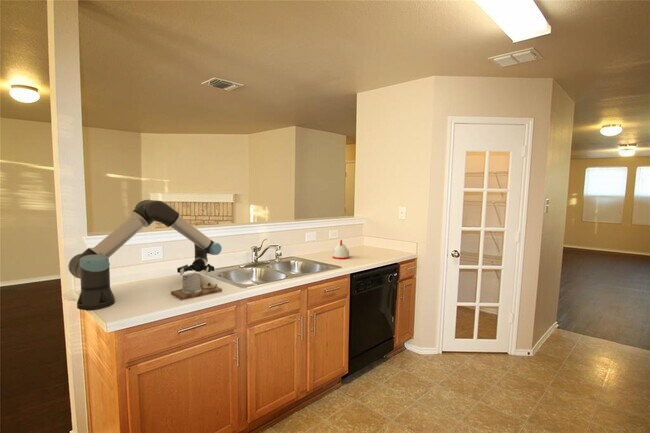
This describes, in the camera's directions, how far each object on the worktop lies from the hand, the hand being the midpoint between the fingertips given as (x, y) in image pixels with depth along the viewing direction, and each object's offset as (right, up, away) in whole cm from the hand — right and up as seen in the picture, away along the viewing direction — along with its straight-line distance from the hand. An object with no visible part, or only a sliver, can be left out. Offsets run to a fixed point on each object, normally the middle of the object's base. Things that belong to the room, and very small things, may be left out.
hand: (193, 272), depth 194 cm
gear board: (+4, -10, -5) cm, 12 cm away
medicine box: (+2, -8, -8) cm, 11 cm away
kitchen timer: (+86, -3, +95) cm, 129 cm away
